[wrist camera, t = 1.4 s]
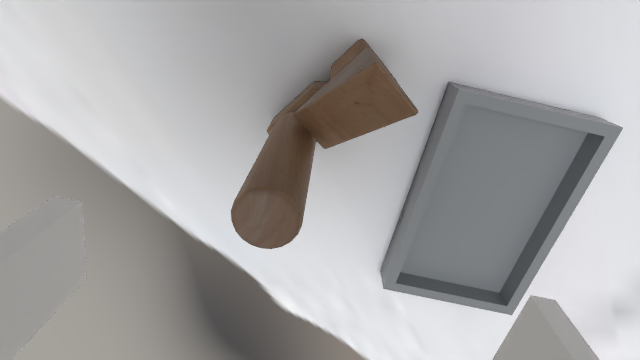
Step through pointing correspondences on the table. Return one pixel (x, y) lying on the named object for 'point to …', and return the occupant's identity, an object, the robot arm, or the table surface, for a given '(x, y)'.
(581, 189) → the tray
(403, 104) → the brown tapered wooden part
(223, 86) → the table surface
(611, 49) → the table surface
